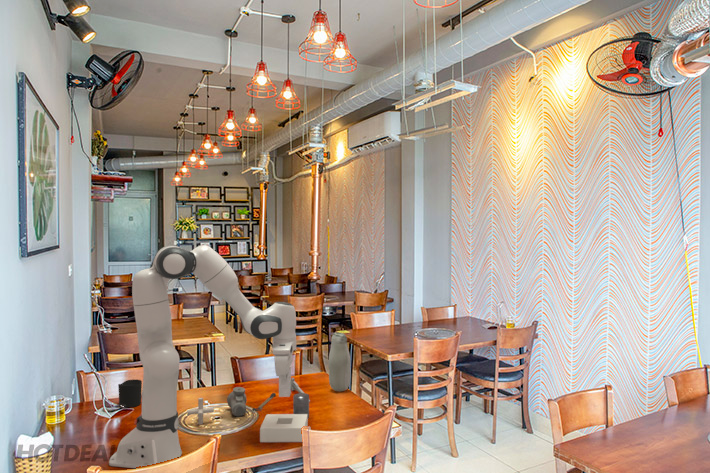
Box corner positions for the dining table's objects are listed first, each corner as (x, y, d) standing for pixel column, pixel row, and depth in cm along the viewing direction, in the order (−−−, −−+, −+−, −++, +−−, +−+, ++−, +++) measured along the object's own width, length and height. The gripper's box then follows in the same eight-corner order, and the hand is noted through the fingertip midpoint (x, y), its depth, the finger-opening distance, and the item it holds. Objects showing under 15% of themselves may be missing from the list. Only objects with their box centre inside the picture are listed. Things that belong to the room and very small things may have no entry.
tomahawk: (266, 414, 206) (266, 411, 206) (251, 411, 208) (252, 409, 208) (285, 397, 227) (285, 394, 227) (271, 394, 229) (271, 392, 228)
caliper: (290, 390, 236) (290, 377, 236) (292, 389, 236) (292, 376, 236) (308, 402, 218) (308, 388, 218) (310, 402, 219) (310, 388, 219)
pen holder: (116, 404, 216) (116, 381, 216) (138, 400, 221) (138, 378, 221) (120, 410, 208) (120, 387, 208) (144, 405, 214) (144, 383, 214)
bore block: (260, 442, 175) (260, 428, 175) (266, 427, 189) (266, 414, 189) (304, 441, 176) (304, 428, 176) (307, 426, 190) (307, 414, 190)
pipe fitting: (226, 407, 210) (228, 384, 209) (245, 407, 213) (247, 384, 212) (227, 420, 199) (230, 396, 198) (247, 419, 201) (250, 396, 200)
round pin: (292, 420, 196) (292, 398, 196) (294, 414, 203) (294, 393, 203) (308, 420, 196) (308, 398, 196) (309, 414, 203) (309, 393, 203)
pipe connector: (186, 429, 187) (186, 403, 187) (188, 420, 197) (188, 395, 197) (213, 426, 190) (213, 401, 190) (213, 417, 199) (213, 393, 199)
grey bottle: (353, 389, 236) (353, 332, 236) (342, 395, 227) (342, 335, 227) (336, 386, 241) (336, 330, 241) (325, 391, 232) (324, 333, 233)
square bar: (278, 396, 180) (278, 370, 180) (280, 393, 184) (280, 367, 184) (289, 396, 180) (289, 369, 180) (291, 393, 184) (290, 367, 184)
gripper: (280, 339, 193) (280, 373, 193) (271, 351, 172) (272, 390, 172) (295, 338, 193) (296, 373, 193) (289, 351, 172) (289, 389, 172)
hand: (284, 381), depth 182 cm, fingers closed on square bar, 4 cm apart
